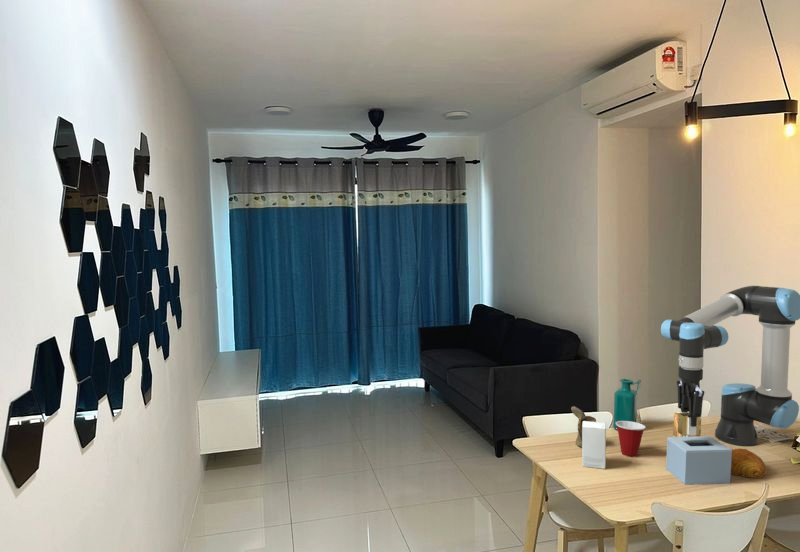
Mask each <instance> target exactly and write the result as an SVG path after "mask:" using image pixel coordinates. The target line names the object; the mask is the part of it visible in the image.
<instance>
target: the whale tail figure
mask: <svg viewBox="0 0 800 552" xmlns="http://www.w3.org/2000/svg"><path fill="white" fill-rule="evenodd" d="M570 408H571V409H570V410H571V412H572V414H573V415H574V416H575V417H576V418H577V419H578V421H577V437H576V439H575V445H576V446H577V447H579V448H581V449H582V425H583V421H590V422H597V420H596V419H597V418H595V417H593V416H591V415H586V414H585V412H584V411H583V410H582V409H580V408H579V407H578V406H576V405H572V406H571V407H570Z"/></svg>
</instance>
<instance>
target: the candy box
mask: <svg viewBox="0 0 800 552" xmlns="http://www.w3.org/2000/svg"><path fill="white" fill-rule="evenodd" d="M678 413H682V412H681V411H678V412H674V413H673V429H672V430H673V433H672V437H700V436H701V433H702V417H700V425H699V435H681V434H680V433H678Z"/></svg>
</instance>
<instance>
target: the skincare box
mask: <svg viewBox="0 0 800 552" xmlns="http://www.w3.org/2000/svg"><path fill="white" fill-rule="evenodd" d="M606 430H607V426H606V423H605V422H603V421H602V422H601V421H600V422H599V421H596V422H590V421H583V425H582V448H581V450H582V452H581V453H582V454H581V457H582V458H581V461H582V464H581V465H582V467H583V468H584V467H585V468H592V469H594V468H595V469H602V470H605V469H606V461H607V460H606V456H607V455H606V454H607V452H606V451H607V446H606V445H607V438H606V437H607V431H606Z"/></svg>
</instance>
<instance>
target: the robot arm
mask: <svg viewBox="0 0 800 552" xmlns="http://www.w3.org/2000/svg"><path fill="white" fill-rule="evenodd" d="M740 315H753V316H758V322H759V323H760V325H761V326H762V342H761V343H762V345H761V372H760V373H761V374H760V386H758V387H756V386H755V385H753V384H751V383H737V382H736V383H726V384H724V385H723V386H722V389H721V394H720V395H721V404H720V405H721V407H720V419H719V421H718V423H717V426H716V428H715V430H714V431H715V432H714V436H715V438H716V439H717V440H718V441H722V442H724V443H728V444H731V445H736V446H740V447H741V446H743V447H744V446H745V447H751V446H757V444H758V443H759V441H758V440H759V436H758V433H757V430H756V428H755V427H756V426H755V423H754V421H756V422H758V423H761V424H765V425H768V426H770V427H773V428H774V427H775V428H779V429H783V430H784V429H787V428H790V427H791V426H793V424H794V423H795V422H796V420H797V418H798V415H799V412H800V405H799V404H798V402H797V401H795V400H794V399H793V393H792V392H791V391H790V390H789V389H788V385H789V384H788V383H789V382H788V381H789V364H790V363H789V362H790V361H789V360H790V359H789V358H790V342H791V341H790V337H791V328H792V327H794V326H795V325H796V321H799V320H800V293H799V292H798V291H796V290H795V289H793V288H791V289H790V288H785V287H775V286H763V285H748V286H743V287H740V288H737V289H734V290H731V291H729V292H727V293H724V294H722V295H721V296H720V298H719V299H718V300H716V301H713V302H712V303H710V304H708V305H705V306H704V307H702V308H700V309H698V310H696V311H694V312H691V313H690V314H687V315H685V316H683V317H681V318H679V319H665V320H664V321H663V322H662V324H661V327H660V333H661V336H662V337H663V338H665V339H667V340H671V341H675V342H678V344H679V351H678V359H677V360H678V365H679V367H678V374H677V375H678V378H679V379H680V380H676V385H677V408H678V409H680V412H682V413H689V415H687V416H688V427H687V434H688V435H696V425H697V417H700V418H702V411H703V401H704V400H703V399H704V396H705V391H704V390H701V389H700V381H702V380H703V378H704V377H703V375H704V370H703V368H704V350H707V349H714V348H719V347H721V346H724V345H726V344H727V343H728V341H729V332H728V330H727V329H726V328H725V327H723V326H721V325H716V324H718V323H720V322H723V321H724V320H726V319H729V318H730V317H738V316H740Z"/></svg>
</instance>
